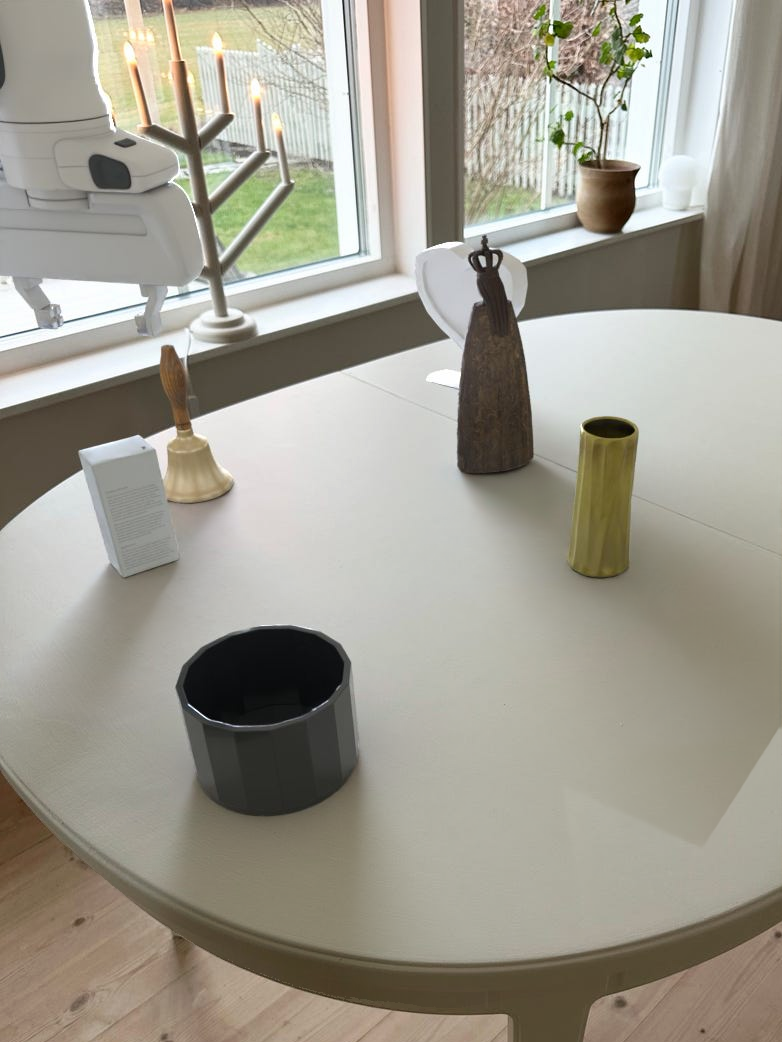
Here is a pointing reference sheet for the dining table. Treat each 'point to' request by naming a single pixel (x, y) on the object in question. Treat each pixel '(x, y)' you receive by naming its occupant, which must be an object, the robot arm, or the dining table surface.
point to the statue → (493, 379)
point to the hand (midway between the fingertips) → (101, 330)
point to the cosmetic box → (130, 504)
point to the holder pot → (270, 718)
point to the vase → (603, 497)
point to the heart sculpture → (460, 291)
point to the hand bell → (187, 444)
